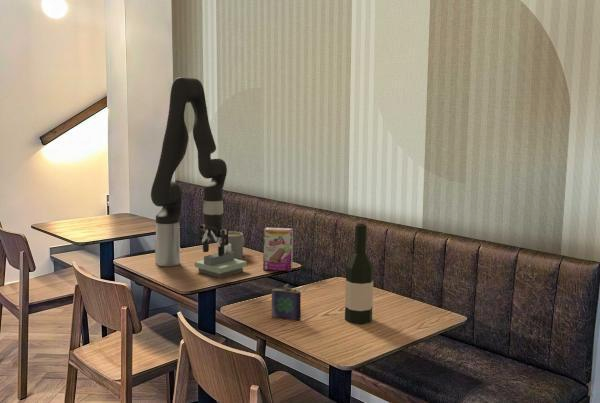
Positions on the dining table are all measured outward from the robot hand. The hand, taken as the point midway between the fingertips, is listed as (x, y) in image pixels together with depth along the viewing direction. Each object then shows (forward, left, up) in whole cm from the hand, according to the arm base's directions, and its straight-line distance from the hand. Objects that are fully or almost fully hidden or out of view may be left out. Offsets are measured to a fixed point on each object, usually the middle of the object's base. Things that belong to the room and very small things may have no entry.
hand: (213, 253), depth 232 cm
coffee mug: (-14, +24, -8) cm, 29 cm away
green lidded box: (0, +4, -8) cm, 9 cm away
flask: (+53, -18, -8) cm, 57 cm away
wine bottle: (+70, -4, -8) cm, 71 cm away
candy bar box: (+14, +21, -8) cm, 27 cm away
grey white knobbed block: (0, +3, -4) cm, 5 cm away
